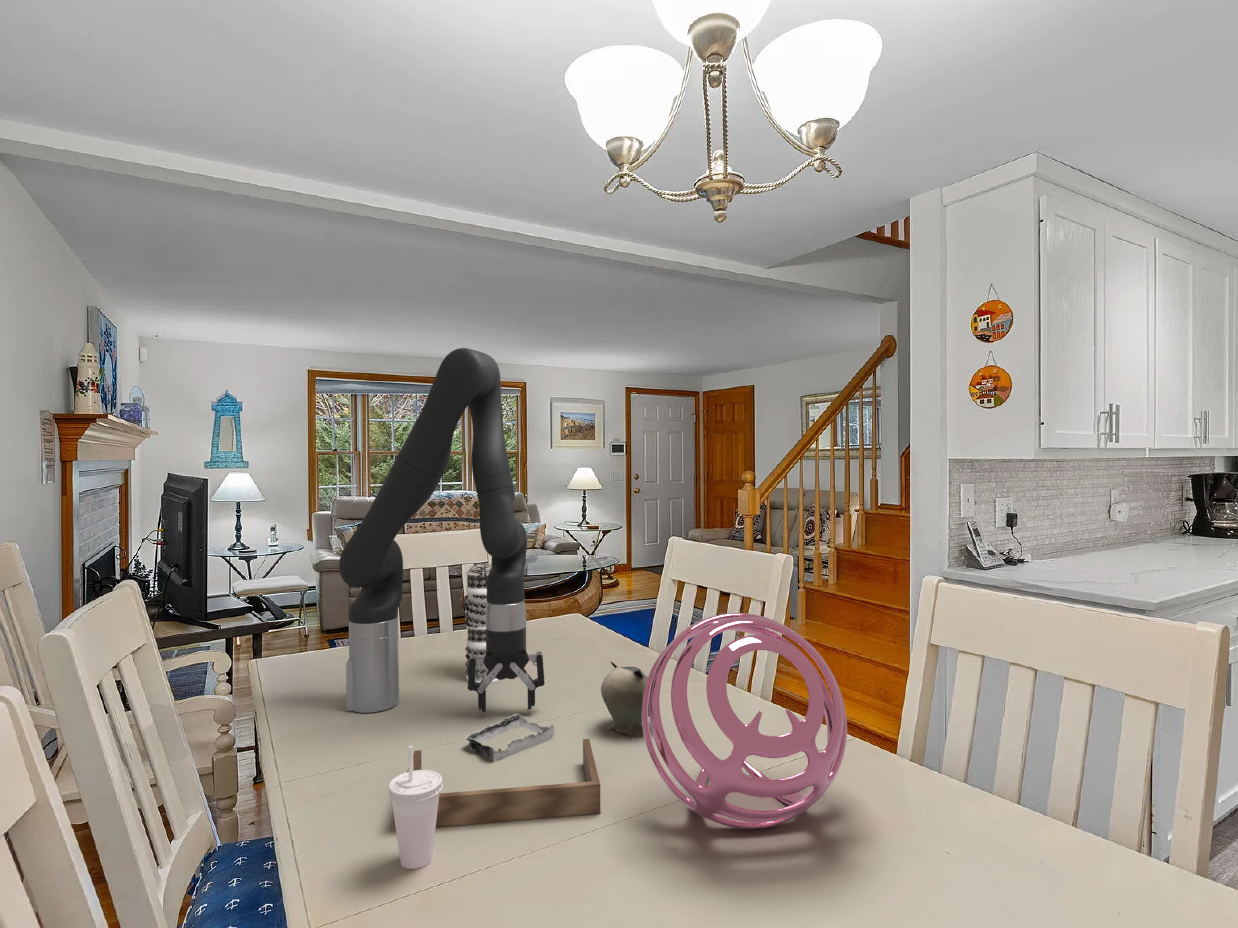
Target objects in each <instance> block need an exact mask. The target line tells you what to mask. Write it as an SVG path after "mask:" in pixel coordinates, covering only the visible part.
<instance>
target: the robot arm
mask: <svg viewBox="0 0 1238 928" xmlns="http://www.w3.org/2000/svg"><path fill="white" fill-rule="evenodd" d="M467 408H468V410H469V413H470V419H471V423H472V445H471V472H472V476H473V478H472V479H473V482H474V488H475V492H476V493H475V494H476V496H477V500H478V506H479V508H478V509H479V510H478V515H479V518H478V519H479V530H480V537H481V538H480V539H481V543H482V545H483V548H484V550H485V552H486V553H487V554H488V555H489V556H491V564H492V565H491V570H490V572H489V574H488V577H487V607H486V621H485V625H486V655H485V657H476V656H475V655H472V656H471V657H470V660H469V672H468V681H467V690H468V691H474V692H476V693H477V708H478V710H479V711H481V713H482V714H484V713H485V714H486V712H487V688H488V686H489V685H490V684H492V683H491V682H492V681H493V679H494V678H496V679H498V680H500V681H501V680H506V679H508V680H515V679H516V678H518V679H520V681H521V682H522V683H523V684H525V686H526V687H527V710H533V709H532V707H535V704H536V689H537V688H540V687H544V685H545V671H544V657H543V656H544V655H543V652H542V651H537V652H536V653H533V654H531V653H528V651H527V614H526V613H527V610H526V604H525V576H524V575H525V574H524V573H525V566H526V558H527V549H528V548H527V547H528V536H527V535H528V534H527V531H526V528H525V526H524V525H523V524H522V522H521V521H520V520H518V519H516V517H515V516H516V515H515V511H514V510H515V509H514V502H515V498H516V496H515V495H516V492H515V486H514V481H513V477H512V472H511V467H510V462H509V457H508V451H507V447H506V439H505V429H504V421H503V419H504V418H503V409H502V408H503V407H502V384H501V372H500V368H499V365H498V363H497V362H496V360H495V359H494V358H493V357H492V356H491V355H489V354H487V353H486V352H483V351H479V350H476V349H472V348H471V349H470V348H468V347H461V348H455V349H453V350H452V351H450V352H449V353H447V355H446V356H445V357H444V358H443V360H442V361H441V364H440V365H439V367H438V370H437V372H436V375H435V377H434V380H433V383H432V385H431V387H430V390H429V392H428V395H427V398H426V400H425V402H424V405H423V407H422V409H421V411H420V413H419V414H418V416H417V418H416V420H415V423H414V424H413V425H412V428H411V430H410V432H409V434H408V435H407V437H406V440H405V441H404V443H403V445H402V446H401V448H400V450H399V451H398V453H397V455H396V457H395V459H394V461H393V463H392V464H391V467H390V469H389V471H388V473H387V476H386V477H385V479H384V481H383V483H382V485H381V487H380V488H379V491H378V492H377V493H376V496H375V498H374V500H373V501H372V504H371V506H370V508H369V510H368V511H367V513H366V514H365V516H364V518H363V519H362V520H361V523H360V524H359V526H358V527H357V528H356V530H355V531H354V532H353V533H352V536H351V537H350V539H348V542H347V543H346V544H345V546H344V548H343V550H342V551H341V554H340V558H339V562H338V570H339V575H340V577H341V579H342V581H343V582H344V583H345V584H346V585H348V586H350V587H353V588H360V591H359V594H358V595H357V597H356V598H355V600H353V602H352V603H351V604H350V605H349V607H348V644H349V645H348V660H347V661H346V663H345V669H346V671H345V673H346V674H345V675H346V677H345V680H346V683H345V684H346V711H347V712H356V713H361V714H362V713H369V714H370V713H377V712H382V711H386V710H390V709H391V708H393V707H395V706H397V705H398V704H399V702H400V671H399V669H400V668H399V667H400V665H399V663H400V660H399V654H400V653H399V652H400V651H399V607H400V604H401V603H402V600H403V581H404V559H403V552H402V550H401V547H400V546H399V543H397V541H396V540H395V538H396V537H397V535H398V534H399V532H400V530H401V529H402V528H403V527H404V526H405V525H406V523H408V522H409V521H410V520H411V519H412V518H413V517H414V516H415V515H416V514H417V512H418V511H419V510H420V509H421V508H422V507H423V506H424V505H425V504H426V503H427V502H428V501H429V499H431V497H432V496H433V494H434V493H435V491H436V489H437V488H438V485H439V483H440V482H441V480H442V478H443V476H444V474H445V472H446V470H447V468H448V465H449V462H450V457H451V453H452V446H453V439H454V434H455V431H456V427H457V425H458V423H459V421H460V419H461V417H462V415H463V414H464V413H465V411H466V409H467ZM529 662H531V663H532V665H533V666H534V667H536V673H537V675H536V676H537V678H535V679H533V678H532V676H531V675H530V673H529V672H528V671H527V670H526V668H525V667H526V666H527V665H528V664H529ZM482 663H484V665H485V666H486V668H487V669H488V672H487V673H486V675H485V676H484V678H483V679H482V681H481V682H480V683H478V682H475V674H476V669H479V667H480V665H481V664H482Z"/></svg>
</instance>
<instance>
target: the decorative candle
mask: <svg viewBox="0 0 1238 928" xmlns="http://www.w3.org/2000/svg"><path fill="white" fill-rule="evenodd" d="M491 565H492V563H478V564H477V563H476V564H473V565H472V566H470V567H469V569H468V571H466V572H465V574H466V576H467V578H466V583H467V585H466V587H465V589H466V591H465V593H466V595H465V596H464V598H463V602H464V605H463V609H464V610H465V611H466V612H465V614H464V618H465V621H464V626H465V628H466V629H467V639H466V647H465V649H464V650H465V652H466V654H465V658H466V659H467V660H466V662H465V663H464V664H465V667H466V669H465V674H466V676H465V680H466V679H467V680H466V681H467V682H468V672H469V660H470V657H471V656H472V655H475V656H476V657H485V655H486V625H485V621H486V607H487V577H488V574H489V572H490V570H491ZM487 672H488V669H487V668H486V666H485V665H484V663H482V664H481V665H480V667H479V669H476V674H475V682H478V683H480V682H481V681H482V679H483V678H484V676H485V675H486V673H487ZM500 681H501V680H498V679H496V678H494V679H493V681H492V682H494V683H496V682H500Z"/></svg>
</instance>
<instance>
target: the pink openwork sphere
mask: <svg viewBox="0 0 1238 928" xmlns="http://www.w3.org/2000/svg"><path fill="white" fill-rule="evenodd" d="M725 631H737V632H743V633H747V634H751V635H744V636H742V637H739V638H736V639H734V640H732V641H730V642H728V643H727V644H726V645H725V646H724V647H722V648H721V649H720V650H719V651H718V652H717V654H716V655H715V657H714V658H713V659H712V662H711V664H710V666H709V669H708V672H707V678H706V687H705V688H706V699H707V703H708V707H709V711H710V712H711V715H712V717H713V719H714V721H715V723H716V725H717V727H719V729H720V731H721V732H722V733H723V734H724V736H725V737H726V738H727V739H728V740H729V741H730V742H731V743H732V744H731V745H733V746H732V747H733V748H732V750H731V753H730V755H729V756H728V757H727V758H725V759H720V758H719V757H717V756H716V754H714V753H713V751H712V750H711V749H709V747H708V746H707V745H706V743H705V741H704V740H703V739H702V738H701V736H700V734H699V732H698V731H697V729H696V727H695V724H694V721H693V719H692V716H691V715H692V714H691V712H690V709H689V708H690V707H689V702H688V681H689V677H690V671H691V668H692V666H693V663H694V661H695V659H696V657H697V655H698V654H699V652H700V651H701V650H702V648H703V647H704V646H705V645H706V644H707V643H708V642H709V641H711V640H712V639H713V638H714V637H716V636H717V635H719V634H721V633H723V632H725ZM774 631H775V632H774ZM776 632H777V633H776ZM778 633H779V634H778ZM780 634H782V635H784V636H786V637H787V638H789V639H791V640H792V641H794V642H795V643H796V644H798V645H799V646H800V647H801V648H803V650H805V652H807V653H808V654H809V656H810V657H811V658H812V659H813V661H815V663H816V665H817V666H818V668H819V669H820V670H821V673H822V674H823V676H824V678H825V680H826V683H827V685H828V688H827V686H826V683H825V682H824V680H823V678H822V676H821V674H820V673H819V672H818V670H817V669H816V666H814V665H813V663H812V662H811V661H810V659H808V657H807V656H806V654H804V653H803V652H802V651H801V650H800V649H799V648H798V647H797V646H796V645H794V644H793V642H792V643H791V642H790V641H789V640H787V639H786V638H785V637H784V636H782V635H780ZM690 639H691V640H690ZM689 640H690V641H689ZM687 641H688V643H687V644H686V646H685V648H684V649H683V650H682V651H681V653H680V656H679V657H678V659H677V662H676V665H675V668H674V671H673V675H672V680H671V688H670V690H671V691H670V699H671V700H670V701H671V703H670V704H671V712H672V716H673V720H674V723H675V727H676V730H677V732H678V734H679V736H680V739H681V741H682V743H683V745H684V747H685V748H686V750H687V751H688V753H689V754H690V756H691V757H692V758H693V760H694V761H695V762H696V763H697V765H699V766H700V767H699V768H701V769H700V771H699V773H698V775H697V777H696V778H695V780H694V779H693V778H692V777H691V776H690V775H689V774H688V773H687V772H686V770H685V769H684V768H683V766H682V765H681V763H680V762H679V761H678V759H677V757H676V756H675V754H674V752H673V751H672V748H671V746H670V744H669V742H668V739H667V736H666V734H665V730H664V725H663V722H662V716H661V707H660V696H661V695H660V694H661V686H662V682H663V677H664V673H665V670H666V668H667V665H668V663H669V661H670V659H671V658H672V655H673V654H674V653H675V651H676V649H677V648H678V647H679V646H680V645H681V644H683V643H685V642H687ZM755 651H768V652H772V653H775V654H777V655H780V656H782V657H784V658H785V659H786V660H788V661H790V663H792V664H793V666H795V668H796V669H797V670H798V671H799V673H800V674H801V676H802V677H803V680H804V683H805V685H806V688H807V693H808V706H807V710H806V711H807V712H806V714H805V717H804V718H803V720H800V719H799V718H798V717H797V716H796V715H795V714H794V713H793V712H792V711H791V710H790V709H789V708H785V713H786V715H787V718H788V720H789V722H790V725H791V728H792V729H791V731H790V732H789V733H785V734H781V735H775V736H773V735H768V734H767V735H766V734H763V733H761V732H760V730H759V728H760V727H759V726H760V722H761V718H762V714H763V710H762V709H761V710H760V709H759V710H758V712H757V713H756V715H755V716H754V717H753V718H752V720H751V721H750V722H749V723H747V724H745V723H744V722H742V721H741V720H740V719H739V717H738V715H736V713H735V712H734V710H733V708H732V706H731V704H730V701H729V700H730V699H729V698H728V693H727V692H728V691H727V682H728V676H729V673H730V671H731V668H732V667H733V665H734V664H735V663H736V662H737V660H738V659H740V658H741V657H743V656H744V655H746V654H748V653H751V652H755ZM647 677H648V678H647V681H646V684H645V688H644V693H643V699H642V723H641V724H642V728H643V739H644V743H645V746H646V749H647V753H648V755H649V758H650V760H651V762H652V764H653V766H654V768H655V770H656V772H657V773H658V775H659V777H660V779H661V780H662V781H663V783H664V784H665V786H666V787H667V788H668V789H669V790H670V792H671V793H672V794H673V795H674V796H675V797H676V798H677V799H678V800H679V801H680V802H681V803H683V805H685V806H686V808H688V809H690V810H691V811H692V812H693V813H695V814H696V815H698V816H700V817H702V818H703V819H704V818H705V819H707V820H708V821H711V822H713V823H716V824H719V825H720V826H721V825H722V826H725V827H729V828H734V829H739V830H740V829H742V830H760V829H761V830H762V829H767V828H772V827H776V826H778V825H782V824H785V823H786V822H789V821H791V820H793V819H795V818H796V817H798V816H800V815H801V814H803V813H804V812H805V811H807V810H810V808H812V807H813V806H815V805H816V804H817V803H818V802H819V801H820V800H821V799H822V798H823V797H824V796H825V794H826V792H827V791H828V790H829V788H830V787H831V785H832V784H833V782H834V781H835V779H836V777H837V775H838V773H839V771H840V768H841V766H842V763H843V760H844V756H845V754H846V753H845V752H846V746H847V737H848V721H847V712H846V707H845V702H844V698H843V695H842V692H841V690H840V686H839V684H838V681H837V680H836V677H835V675H834V674H833V672H832V671H831V668H830V667H829V665H828V664H827V663H826V661H825V659H824V658H823V657H822V656H821V654H820V653H819V652H818V650H817V649H816V648H814V646H813V645H812V644H811V643H810V642H809V641H808V640H807V639H805V638H804V637H803V636H801V635H800V634H799V633H798V632H796V631H794V630H793V629H791V628H790V627H788V626H787V625H785V624H783V623H781V622H779V621H776V620H773V618H772V619H771V618H769V617H765V616H761V615H758V614H752V613H747V612H746V613H744V612H729V613H720V614H716V615H712V616H709V617H706V618H703V619H700V620H698V621H696V622H694V623H692V624H691V625H689V626H687V627H686V628H685V629H683V630H682V631H681V632H680V633H679V634H678V635H677V636H675V637H674V639H673V640H672V641H671V642H670V643H669V644H668V645H667V646H666V647H665V648H664V649H663V650H662V652H661V653H660V654H659V655H658V657H657V658H656V660H655V662H654V663H653V665H652V666H651V669H650V672H649V674H648V676H647ZM828 689H829V690H828ZM829 692H830V693H829ZM648 703H649V717H648ZM824 718H825V725H826V746H825V748H824V750H823V751H822V752H820V751H819V749H818V746H817V745H816V744H817V743H816V739H817V734H819V731H820V729H821V726H822V723H823V720H824ZM649 722H650V723H649ZM649 724H650V725H649ZM650 728H651V729H650ZM650 730H651V731H650ZM651 732H652V734H651ZM652 736H653V739H654V742H655V746H656V749H657V751H658V753H659V755H660V757H661V758H662V761H663V762H664V764H665V766H666V768H667V770H668V771H669V772H670V774H671V775H672V776H673V778H674V779H675V781H677V782H678V784H679V785H680V787H682V788H683V789H684V791H686V792H687V793H688V794H689V796H687V795H686V794H685V793H684V792H683V791H682V790H681V789H680V788H679V787H678V786H677V785H676V784H675V782H674V781H673V780H672V779H671V776H669V774H668V773H667V771H666V770H665V768H664V766H663V765H662V763H661V761H660V759H659V756H658V754H657V752H656V749H655V746H654V743H653V741H652V740H653V739H652ZM801 752H803V753H804V754H805V756H806V758H807V765H806V767H805V768H804V770H803V771H801V772H799V773H797V774H794V775H791V776H788V777H784V778H778V779H771V778H770V777H769V776H767V775H766V774H764V773H762V772H761V771H760V770H758V769H757V768H756V767H755V766H753V765H752V764H751V763H749V762H748V761H747V760H746V759H747V758H748V757H750V756H756V757H761V758H767V759H781V758H787V757H790V756H793V755H795V754H797V753H801ZM742 768H743V769H744V771H746V773H748V774H749V775H747V774H745V773H744V771H743V769H742ZM708 777H709V779H710V783H709V784H708V785H707V786H706V784H707V781H708ZM809 787H812V788H811V789H810V790H809V791H807V792H806V793H805V792H803V793H802V792H801V791H804V790H806V789H807V788H809ZM730 793H738V794H743V795H746V796H750V797H756V798H760V799H761V798H763V799H777V800H779V801H780V802H782V803H783V804H785V805H786V806H785V807H780V808H776V809H749V808H744V807H741V806H737V805H734V804H732V803H729V802H728V801H727V800H726V798H727V795H729V794H730Z"/></svg>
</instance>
